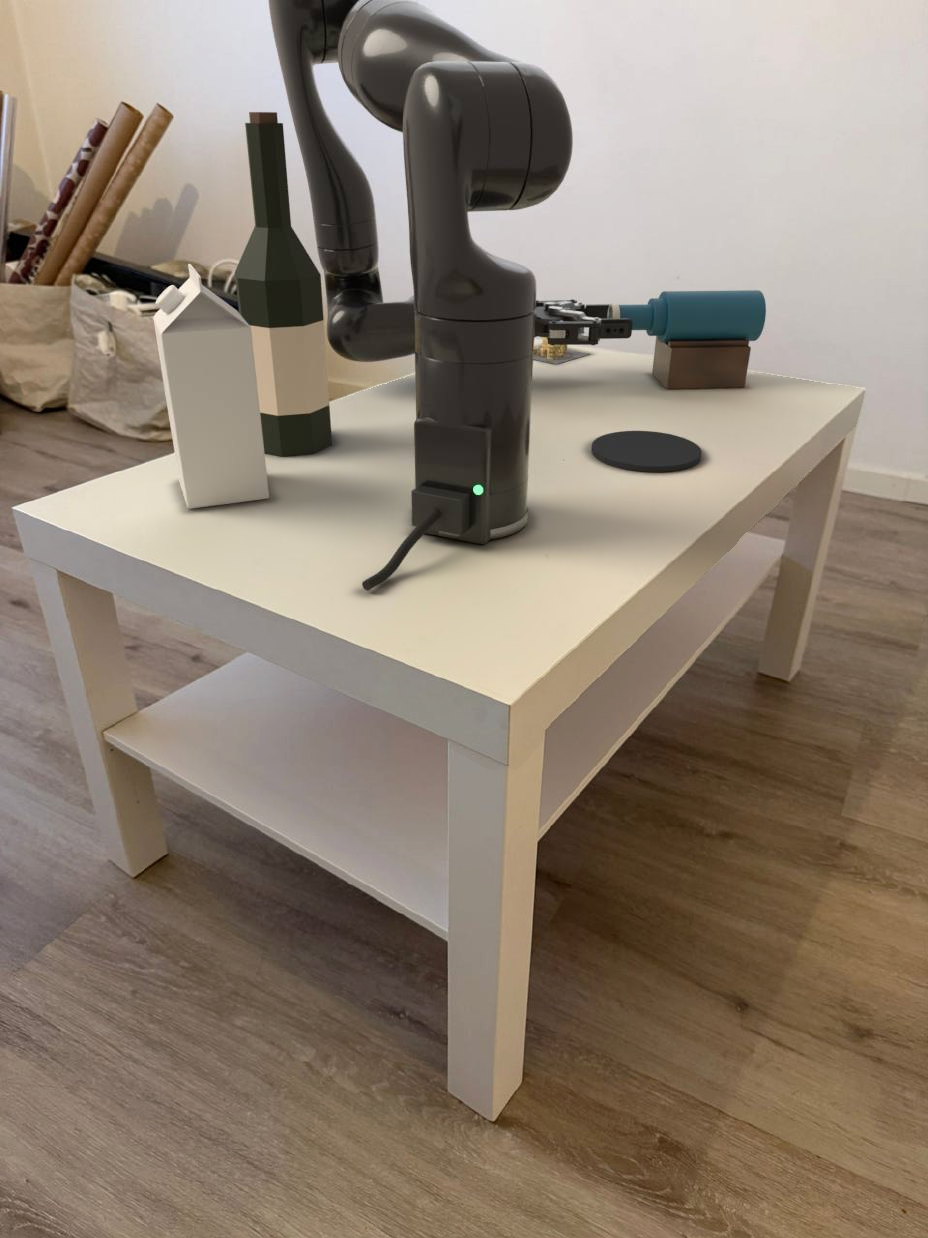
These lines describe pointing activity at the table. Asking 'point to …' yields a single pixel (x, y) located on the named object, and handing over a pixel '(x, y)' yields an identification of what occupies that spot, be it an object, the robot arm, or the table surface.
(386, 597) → the table surface
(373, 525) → the table surface
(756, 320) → the bottle
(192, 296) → the milk carton
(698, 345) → the cradle
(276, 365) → the wine bottle
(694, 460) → the coaster
